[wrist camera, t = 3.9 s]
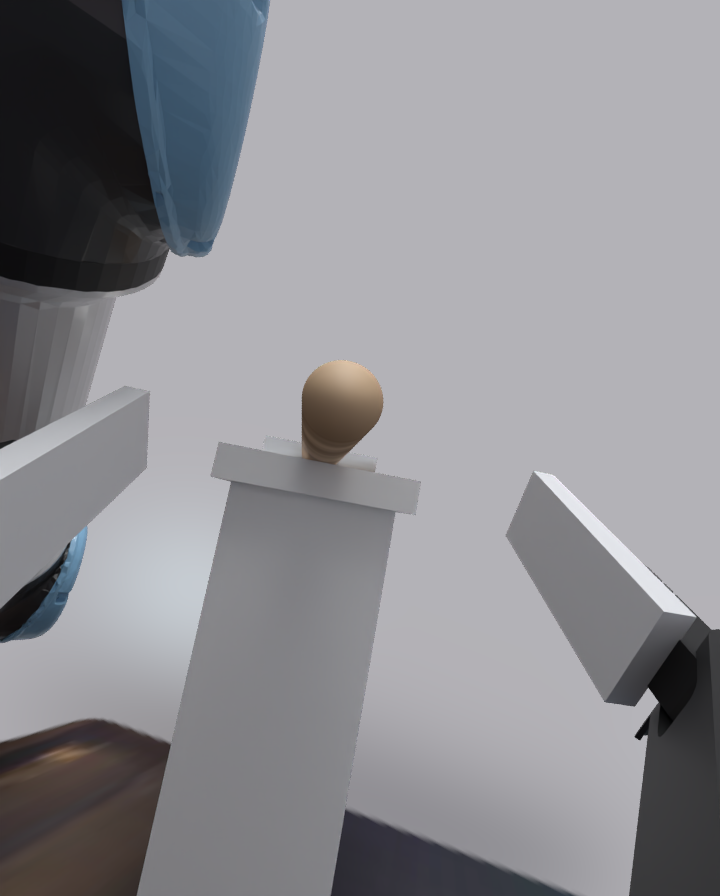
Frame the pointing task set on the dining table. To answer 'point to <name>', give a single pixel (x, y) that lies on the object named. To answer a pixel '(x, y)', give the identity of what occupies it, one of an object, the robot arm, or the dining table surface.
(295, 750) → the plinth
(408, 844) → the dining table surface
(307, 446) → the ball
